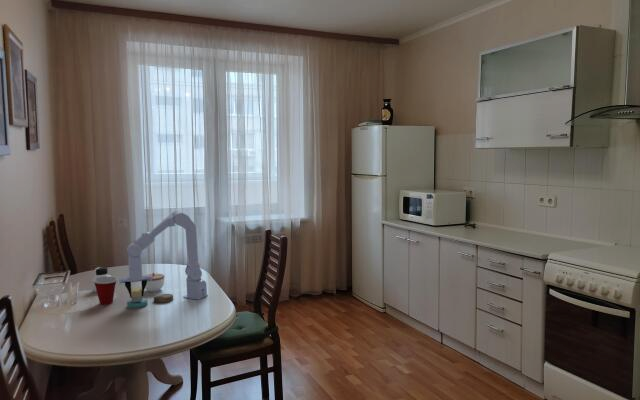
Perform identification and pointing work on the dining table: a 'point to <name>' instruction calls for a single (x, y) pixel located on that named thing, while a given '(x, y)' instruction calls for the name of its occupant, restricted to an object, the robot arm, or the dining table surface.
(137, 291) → the block
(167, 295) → the stand
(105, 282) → the plastic cup
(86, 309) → the dining table surface
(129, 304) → the stand
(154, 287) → the lidded jar
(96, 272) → the medicine bottle
